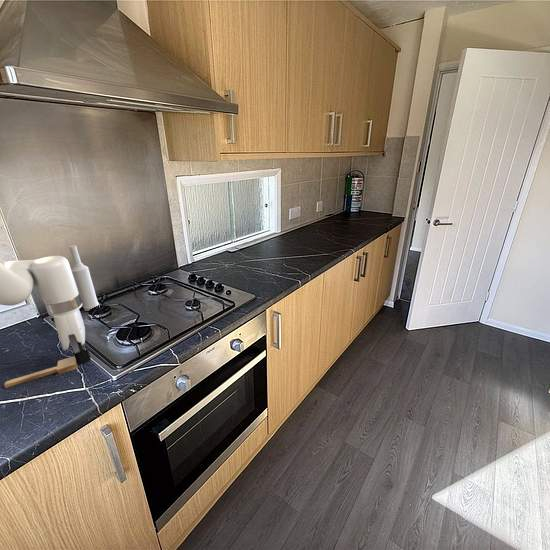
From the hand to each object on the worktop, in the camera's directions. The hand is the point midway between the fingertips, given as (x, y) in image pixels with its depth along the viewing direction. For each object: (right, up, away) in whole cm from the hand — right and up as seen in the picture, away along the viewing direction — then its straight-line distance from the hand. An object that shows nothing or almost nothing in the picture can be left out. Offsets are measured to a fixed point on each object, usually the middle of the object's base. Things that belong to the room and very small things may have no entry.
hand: (84, 360), depth 83 cm
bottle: (-16, +11, +29) cm, 35 cm away
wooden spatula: (-8, -3, -4) cm, 9 cm away
